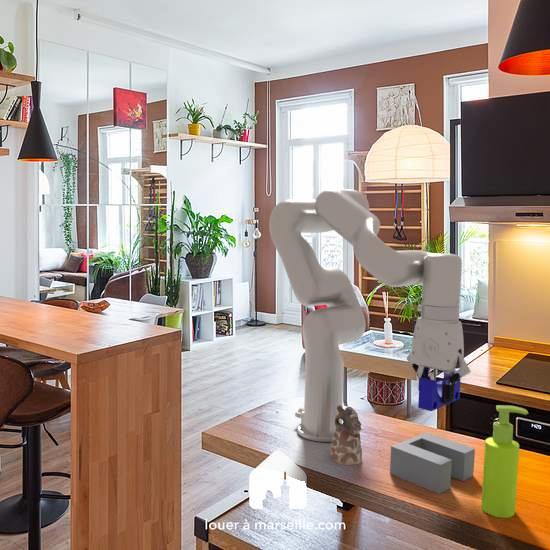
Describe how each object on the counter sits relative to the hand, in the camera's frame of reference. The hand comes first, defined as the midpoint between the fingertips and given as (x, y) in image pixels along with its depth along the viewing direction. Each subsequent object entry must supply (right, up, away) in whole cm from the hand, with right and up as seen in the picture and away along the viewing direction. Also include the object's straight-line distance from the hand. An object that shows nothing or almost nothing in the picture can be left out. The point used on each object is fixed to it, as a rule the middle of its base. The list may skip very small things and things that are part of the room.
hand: (435, 398), depth 122 cm
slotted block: (0, -17, +2) cm, 17 cm away
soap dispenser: (+9, -19, -13) cm, 24 cm away
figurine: (-18, -16, +9) cm, 25 cm away
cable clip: (0, -1, 0) cm, 1 cm away
